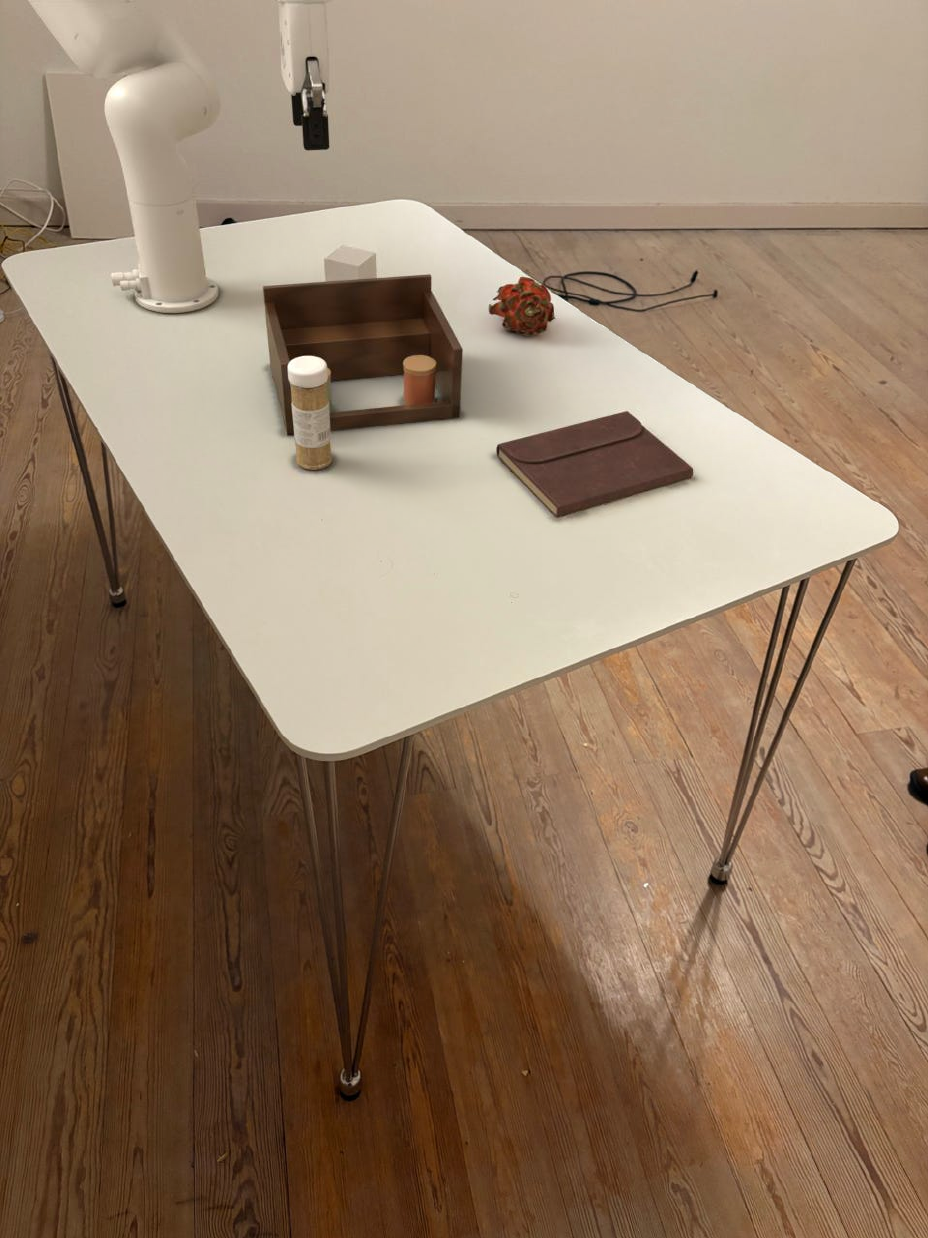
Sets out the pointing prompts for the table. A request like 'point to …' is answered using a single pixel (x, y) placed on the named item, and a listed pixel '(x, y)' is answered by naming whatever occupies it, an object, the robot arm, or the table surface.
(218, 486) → the table surface
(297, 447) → the sprinkles bottle
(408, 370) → the terracotta jar
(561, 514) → the notebook
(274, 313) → the spice rack
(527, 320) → the dragon fruit
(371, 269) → the light grey cube
